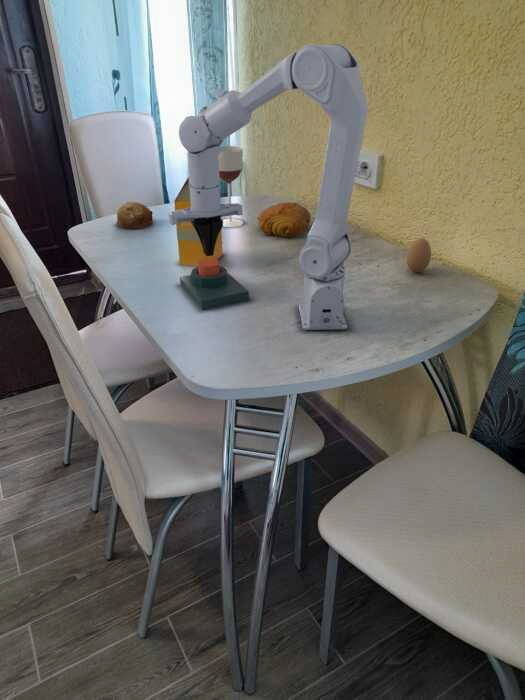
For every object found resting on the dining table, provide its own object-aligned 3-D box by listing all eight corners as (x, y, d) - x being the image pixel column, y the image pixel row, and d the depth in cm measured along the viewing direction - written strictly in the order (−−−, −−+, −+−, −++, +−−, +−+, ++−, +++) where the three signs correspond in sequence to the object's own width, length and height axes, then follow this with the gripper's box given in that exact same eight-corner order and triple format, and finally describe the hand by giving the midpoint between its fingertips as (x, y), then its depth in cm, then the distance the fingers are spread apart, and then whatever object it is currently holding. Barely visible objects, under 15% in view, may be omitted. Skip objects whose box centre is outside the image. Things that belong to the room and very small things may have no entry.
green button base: (248, 300, 101) (248, 282, 99) (202, 310, 97) (200, 291, 95) (223, 277, 111) (223, 260, 109) (180, 285, 107) (178, 268, 105)
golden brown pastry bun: (313, 230, 145) (316, 202, 142) (303, 240, 131) (306, 209, 128) (264, 225, 148) (266, 197, 145) (250, 234, 134) (252, 203, 131)
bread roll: (122, 232, 148) (106, 209, 143) (151, 213, 149) (136, 189, 144) (129, 242, 141) (113, 218, 136) (160, 222, 142) (145, 198, 137)
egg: (399, 270, 115) (404, 236, 110) (416, 266, 117) (422, 232, 113) (415, 278, 111) (421, 243, 107) (432, 274, 113) (439, 239, 109)
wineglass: (211, 226, 142) (207, 151, 131) (222, 217, 149) (219, 145, 138) (238, 229, 140) (236, 152, 129) (248, 219, 147) (247, 147, 136)
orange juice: (223, 254, 123) (219, 169, 113) (210, 267, 116) (205, 177, 105) (193, 251, 125) (187, 167, 114) (178, 264, 118) (170, 175, 107)
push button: (223, 275, 103) (222, 264, 102) (202, 278, 101) (202, 268, 100) (215, 267, 106) (214, 257, 105) (195, 271, 105) (194, 260, 103)
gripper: (231, 177, 100) (233, 242, 108) (161, 184, 95) (167, 253, 102) (246, 184, 95) (247, 253, 102) (172, 193, 90) (178, 265, 97)
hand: (208, 254), depth 102 cm, fingers closed
